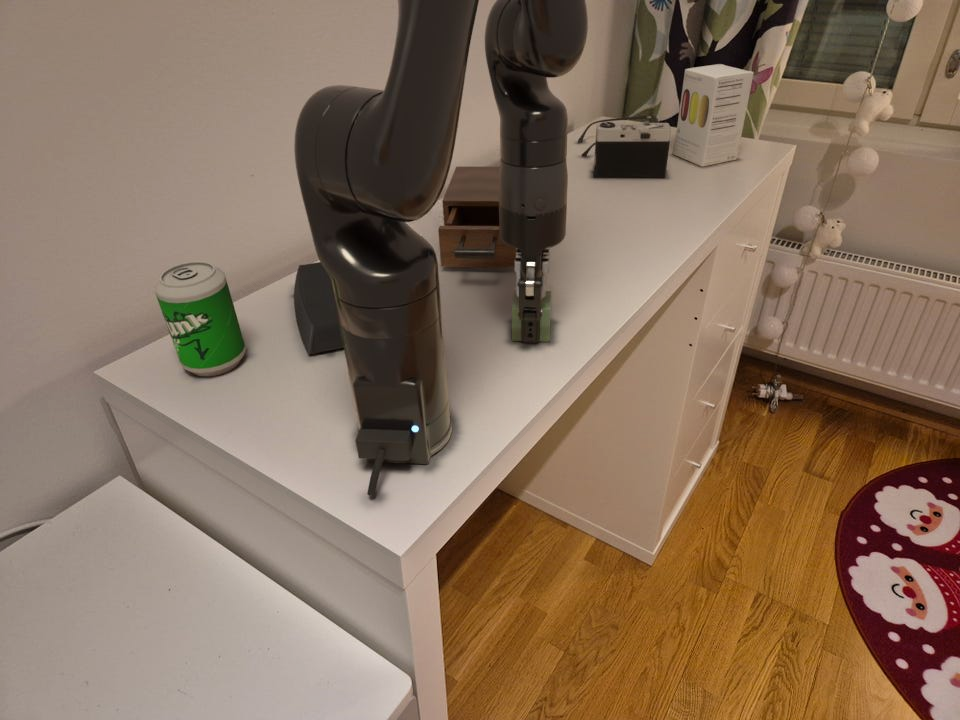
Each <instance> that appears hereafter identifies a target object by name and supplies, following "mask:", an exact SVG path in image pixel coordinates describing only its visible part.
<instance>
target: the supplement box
mask: <svg viewBox="0 0 960 720" xmlns="http://www.w3.org/2000/svg"><path fill="white" fill-rule="evenodd" d="M754 74H755V72H754V71H751V70H745V69H741V68H738V67H735V66H734V67H733V66H729V65H725V64H722V63H717V64H716V63H715V64H711V65H704V66H703V65H702V66H696V67H690V68H685V69H684V75H683V82H682V88H681V96H680V105H679V110H678V111H679V112H678V116H677V117H678V119H677V125H676V130H675V132H676V133H675V139H674V148H673V154H672V155H674V156H676V157H679V158H680V159H683V160H686V161H688V162H690V163H692V164H695V165H697V166H699V167H703V168H704V167H707V166H708V167H709V166H711V165H712V166H713V165H717V164H723V163H727V162H732V161H736V160H737V159H738V157H739V151H740V145H741V140H742V135H743V129H744V126H745V120H746V115H747V110H748V105H749V99H750V94H751V89H752V84H753V79H754Z"/></svg>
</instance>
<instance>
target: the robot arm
mask: <svg viewBox="0 0 960 720" xmlns="http://www.w3.org/2000/svg"><path fill="white" fill-rule="evenodd" d="M479 3H480V0H397V10H398V12H397V13H398V15H397V27H396V35H395V42H394V48H393V54H392V58H391V63H390V67H389V72H388V76H387V80H386V83H385V86H384V88H383V89H379V88H372V87H371V88H370V87H362V86H354V85H345V84H344V85H343V84H336V85H335V84H334V85H329V86H324V87H323V88H320V89H319V90H317V91H316V92H314V93H313V94H312V95H311V96H310V97H309V98H308V99H307V101H306V102H305V103H304V105H303V106H302V108H301V110H300V113H299V114H298V118H297V122H296V127H295V131H294V141H293V142H294V144H293V146H294V147H293V149H294V152H293V153H294V163H295V170H296V177H297V180H298V184H299V190H300V194H301V198H302V202H303V205H304V209H305V214H306V217H307V222H308V225H309V229H310V230H309V231H310V233H311V237H312V241H313V247H314V249H315V253H316V255H317V258H318V260H319V262H321V264H322V265H323V267H324V268H325V270H326V271H327V273H328V274H329V276H330V278H331V281H332V286H333V290H334V296H335V301H336V307H337V312H338V318H339V324H340V329H341V335H342V340H343V346H344V348H343V350H344V355H345V356H344V357H345V363H346V367H347V373H348V378H349V384H350V389H351V394H352V400H353V404H354V411H355V416H356V421H357V426H358V428H357V429H358V430H357V431H358V433H357V435H356V438H355V445H356V450H357V454H358V455H357V456H358V459H365V461H366V462H373V463H374V464H373V466H372V470H371V475H370V477H369V483H368V487H367V496H369V497H375V496H376V492H377V488H378V482H379V477H380V475H381V471H382V468H383V464H384V463H393V464H394V463H395V464H419V465H427V464H429V462H430V459H431V457H432V456H433V455H435V454H437V453H438V452H439V451H441V450H442V449H443V448H444V447H445V446H446V444H447V443H448V442H449V440H450V438H451V435H452V431H453V423H452V417H451V414H450V399H449V390H448V376H447V363H446V353H445V340H444V339H445V338H444V328H443V325H444V324H443V313H442V300H441V287H440V275H439V274H440V273H439V263H438V257H437V254H436V251H435V250H434V247H433V246H432V245H431V243H430V242H429V241H428V240H427V239H426V238H425V237H423V236H422V235H420V234H419V233H418V232H417V231H415V230H414V229H413V228H412V227H411V226H410V225H409V224H408V223H411V222H415V221H418V220H420V219H422V218H423V217H424V216H426V215H427V214H428V213H430V211H431V210H432V209H433V208H434V206H435V205H436V204H437V202H438V200H439V198H440V196H441V194H442V192H443V190H444V188H445V185H446V183H447V182H446V181H447V179H448V175H449V172H450V168H451V164H452V160H453V157H454V156H453V154H454V152H455V151H454V150H455V145H456V140H457V133H458V128H459V121H460V115H461V114H460V113H461V108H462V101H463V94H464V86H465V80H466V73H467V66H468V61H469V60H468V59H469V54H470V53H469V52H470V47H471V43H472V41H471V40H472V36H473V31H474V25H475V22H476V16H477V12H478V7H479ZM588 29H589V17H588V8H587V3H586V0H496V1H495V2H494V3H493V5H492V7H491V8H490V10H489V13H488V16H487V19H486V23H485V29H484V53H485V61H486V65H487V70H488V74H489V79H490V83H491V87H492V93H493V97H494V100H495V104H496V107H497V111H498V114H499V146H500V147H499V152H500V153H499V156H500V161H499V163H500V164H499V167H500V170H499V232H500V238H501V240H502V241H503V242H504V243H505V244H507V245H509V246H511V247H515V248H516V257H515V263H514V267H513V268H514V269H513V270H514V273H515V274H516V280H515V281H516V283H515V285H516V286H515V290H516V295H517V297H519V312H518V317H519V320H521V340H522V341H521V342H522V343H534V344H535V343H536V344H537V343H539V342H540V341H539V340H540V319H541V317H542V310H541V299H542V298H544V297H545V295H546V291H547V279H548V278H547V276H548V275H547V274H548V273H549V272H550V271H549V270H550V269H549V268H550V248H554V247H556V246H558V245H559V244H561V243H562V242H563V241H564V240H565V238H566V233H567V213H568V211H567V209H568V189H569V188H568V187H569V186H568V184H569V182H568V181H569V177H568V176H569V175H568V174H569V173H568V165H567V154H568V150H567V149H568V127H569V125H568V119H569V118H568V111H567V107H566V105H565V103H564V102H563V101H562V100H560V99H559V98H558V97H557V96H556V95H555V94H553V92H552V91H551V89H550V87H549V84H548V78H549V79H551V78H552V79H553V78H555V79H556V78H559V77H563V76H565V75H567V74H568V73H569V72H571V71H572V70H573V69H574V68H575V66H576V65H577V64H578V62H580V59H581V57H582V54H583V53H584V49H585V46H586V43H587V37H588Z"/></svg>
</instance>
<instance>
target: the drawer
mask: <svg viewBox="0 0 960 720" xmlns="http://www.w3.org/2000/svg"><path fill="white" fill-rule="evenodd" d="M437 230H438V232H437V233H438V245H439V256H440V257H439V259H440V266H441V267H464V268H465V267H466V268H473V267H474V268H514V263H515V257H516V248H515V247H511V246H509V245H507V244H505V243H504V242H503V241H502V240H501V238H500V232H499V206H453V207H452V210H451V213H450V215H449V218H448V221H447V226H444V225H439V226H438V229H437Z"/></svg>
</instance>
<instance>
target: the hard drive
mask: <svg viewBox="0 0 960 720" xmlns="http://www.w3.org/2000/svg"><path fill="white" fill-rule="evenodd" d="M293 304H294V305H293V306H294V314H295V320H296V324H297V328H298V332H299V335H300V338H301V341H302V344H303V346H304V349H305V350H306V352H307V354H308V355H313V354H319V353H324V352H328V351H329V352H330V351H334V350H339V349H344V346H343V340H342V335H341V329H340V324H339V318H338V312H337V307H336V301H335V296H334V290H333V286H332V281H331V278H330V276H329V274H328V273H327V271H326V270H325V268H324V267H323V265H322V264H321V262H320V261H319V262H313V263H305V264H299V265H298V268H297V271H296V274H295V282H294V289H293Z"/></svg>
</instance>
